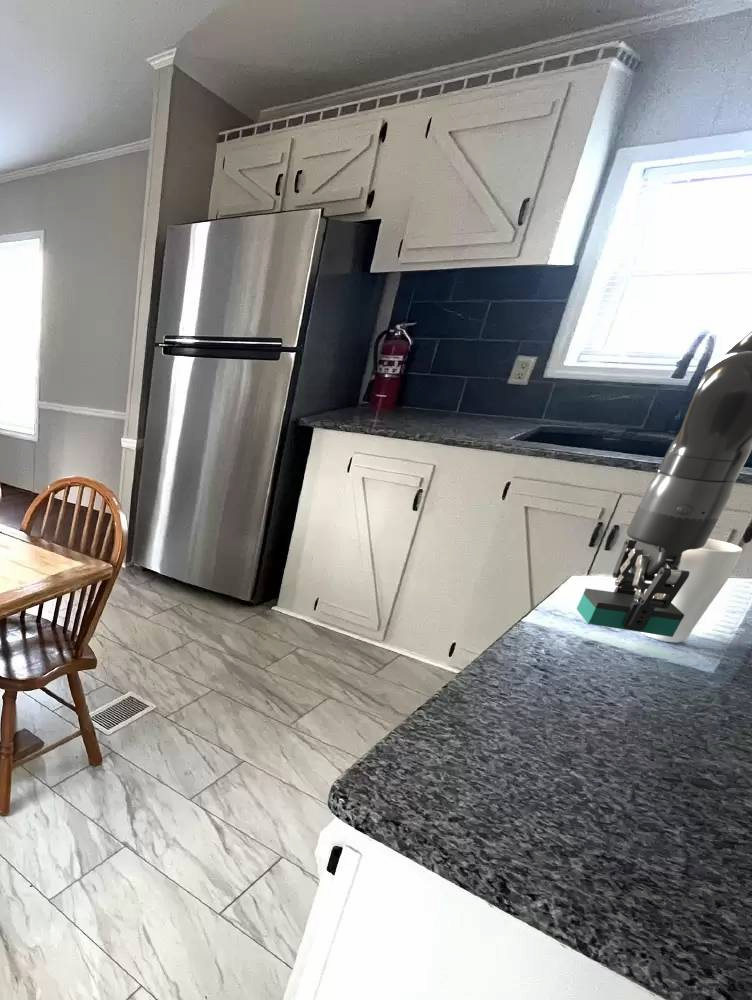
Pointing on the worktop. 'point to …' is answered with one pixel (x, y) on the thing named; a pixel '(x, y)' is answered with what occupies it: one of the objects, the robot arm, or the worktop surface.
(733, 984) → the worktop surface
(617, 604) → the sponge
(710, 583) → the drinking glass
